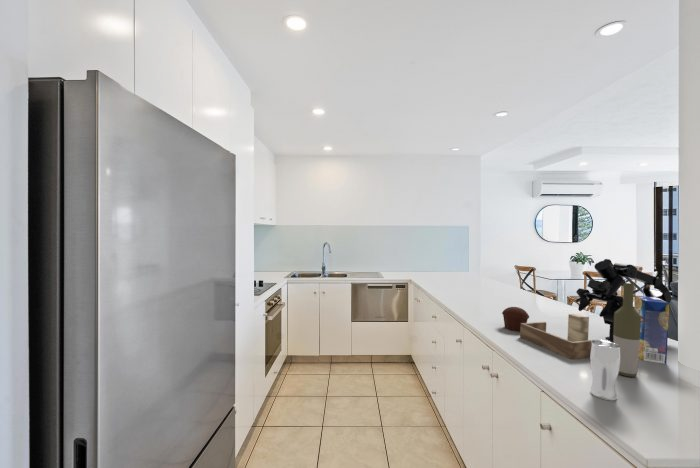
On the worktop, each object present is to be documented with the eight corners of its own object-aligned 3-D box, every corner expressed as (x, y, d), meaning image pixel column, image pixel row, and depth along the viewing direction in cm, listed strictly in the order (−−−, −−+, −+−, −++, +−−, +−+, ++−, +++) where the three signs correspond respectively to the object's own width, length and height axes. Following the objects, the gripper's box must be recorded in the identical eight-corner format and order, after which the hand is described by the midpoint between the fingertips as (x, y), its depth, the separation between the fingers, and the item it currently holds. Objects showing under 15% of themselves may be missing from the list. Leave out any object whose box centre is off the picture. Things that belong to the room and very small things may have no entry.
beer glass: (582, 389, 100) (584, 339, 100) (604, 389, 100) (606, 339, 100) (601, 401, 93) (604, 348, 93) (625, 401, 94) (627, 347, 93)
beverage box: (654, 353, 131) (657, 297, 130) (666, 364, 121) (669, 303, 120) (632, 350, 134) (634, 295, 133) (642, 360, 124) (645, 300, 123)
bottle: (640, 380, 107) (644, 286, 106) (612, 374, 111) (616, 284, 110) (636, 372, 113) (640, 283, 112) (610, 367, 117) (613, 281, 116)
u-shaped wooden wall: (543, 335, 151) (544, 321, 151) (598, 356, 127) (599, 340, 127) (520, 337, 147) (520, 323, 147) (571, 359, 123) (572, 343, 123)
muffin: (530, 328, 161) (530, 307, 161) (527, 334, 152) (528, 312, 152) (503, 323, 167) (503, 303, 167) (499, 329, 158) (500, 308, 158)
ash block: (576, 341, 143) (577, 313, 143) (587, 345, 138) (589, 316, 138) (567, 342, 142) (568, 314, 141) (578, 346, 137) (579, 317, 137)
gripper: (580, 270, 151) (559, 295, 149) (623, 276, 133) (601, 305, 131) (592, 287, 154) (572, 312, 151) (637, 295, 136) (615, 324, 133)
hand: (589, 313), depth 141 cm, fingers open, 9 cm apart
